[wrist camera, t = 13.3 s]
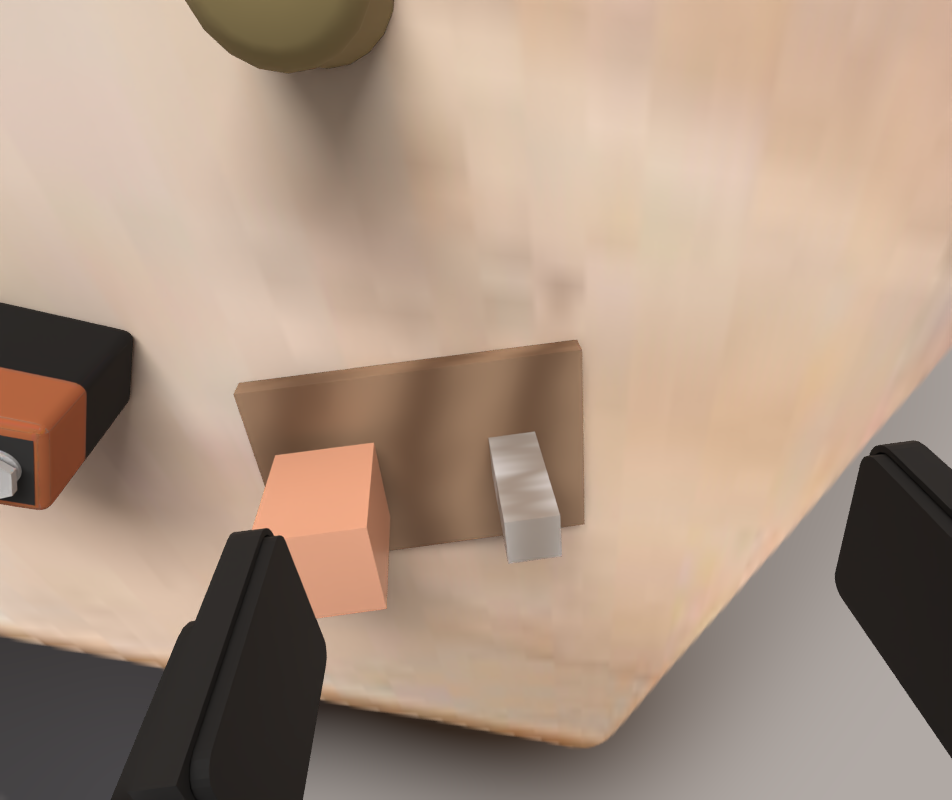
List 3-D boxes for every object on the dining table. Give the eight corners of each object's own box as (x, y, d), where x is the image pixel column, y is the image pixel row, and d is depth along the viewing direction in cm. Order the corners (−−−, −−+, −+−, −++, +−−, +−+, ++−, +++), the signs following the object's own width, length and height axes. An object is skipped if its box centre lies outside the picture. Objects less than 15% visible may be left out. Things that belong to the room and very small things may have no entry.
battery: (132, 402, 34) (37, 531, 25) (-13, 373, 32) (-166, 500, 24) (136, 328, 32) (35, 442, 23) (-18, 294, 30) (-188, 402, 22)
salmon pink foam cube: (373, 442, 34) (366, 527, 28) (390, 517, 36) (386, 608, 31) (275, 455, 34) (247, 543, 28) (298, 529, 36) (278, 623, 31)
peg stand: (576, 339, 34) (619, 422, 27) (580, 511, 40) (615, 614, 33) (239, 383, 34) (193, 478, 27) (294, 550, 40) (269, 663, 33)
